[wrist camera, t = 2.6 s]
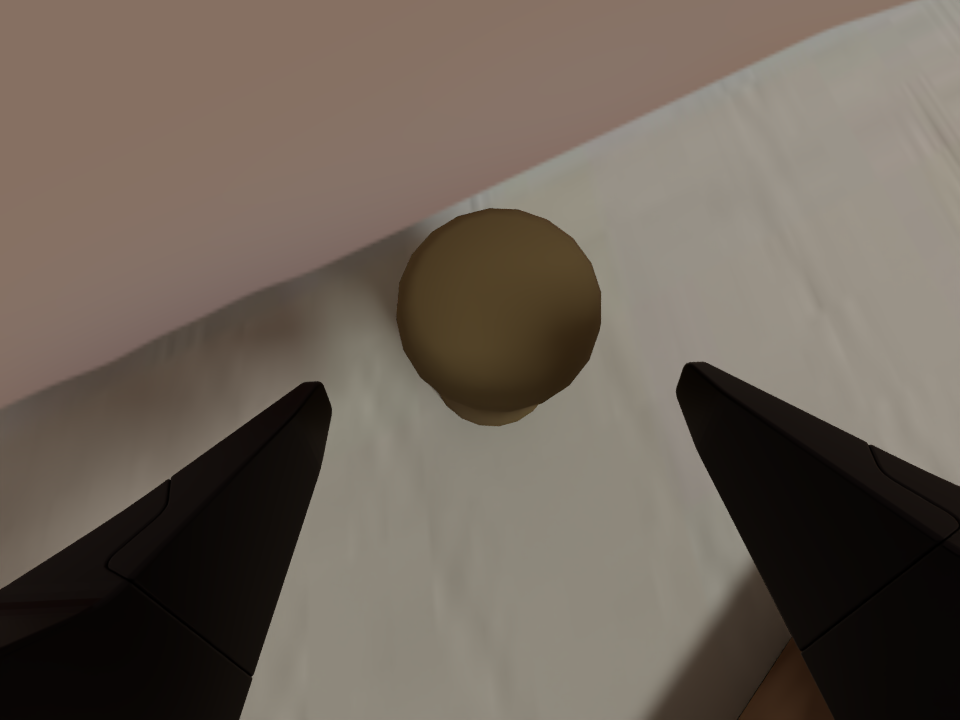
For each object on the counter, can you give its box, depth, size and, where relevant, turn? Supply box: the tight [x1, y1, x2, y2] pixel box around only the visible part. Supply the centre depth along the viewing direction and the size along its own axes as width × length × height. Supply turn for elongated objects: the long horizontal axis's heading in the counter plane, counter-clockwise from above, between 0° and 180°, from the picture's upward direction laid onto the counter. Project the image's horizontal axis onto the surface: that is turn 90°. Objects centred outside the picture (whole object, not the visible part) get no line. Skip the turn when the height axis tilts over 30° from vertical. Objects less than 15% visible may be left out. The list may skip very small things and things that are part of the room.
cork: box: [396, 208, 601, 426], centre depth 14 cm, size 6×6×11 cm
